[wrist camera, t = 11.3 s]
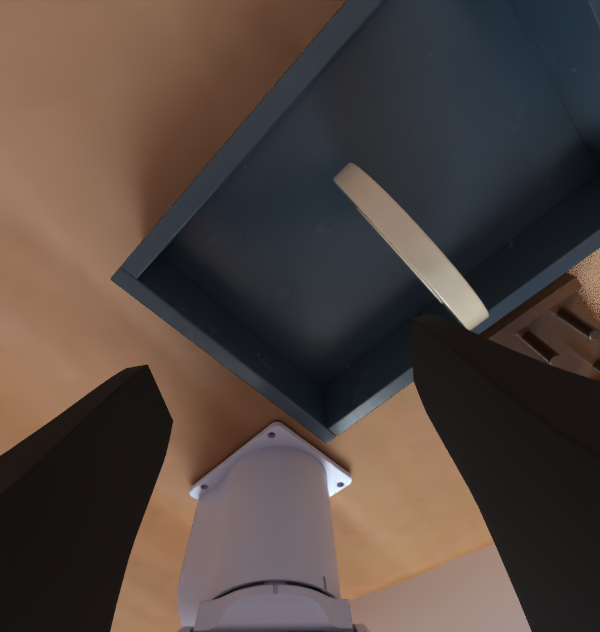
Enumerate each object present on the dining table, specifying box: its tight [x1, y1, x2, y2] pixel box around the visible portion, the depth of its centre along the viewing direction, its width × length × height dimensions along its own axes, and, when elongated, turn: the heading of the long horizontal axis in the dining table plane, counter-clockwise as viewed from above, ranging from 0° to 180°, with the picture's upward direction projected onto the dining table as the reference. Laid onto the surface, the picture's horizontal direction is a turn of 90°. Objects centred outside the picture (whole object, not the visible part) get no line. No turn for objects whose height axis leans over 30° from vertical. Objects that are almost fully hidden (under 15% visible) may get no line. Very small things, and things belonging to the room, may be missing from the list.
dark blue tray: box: [111, 0, 600, 443], centre depth 16 cm, size 20×14×4 cm
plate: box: [332, 162, 489, 331], centre depth 14 cm, size 1×8×8 cm, turn 44°
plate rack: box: [479, 272, 600, 381], centre depth 21 cm, size 9×10×3 cm
